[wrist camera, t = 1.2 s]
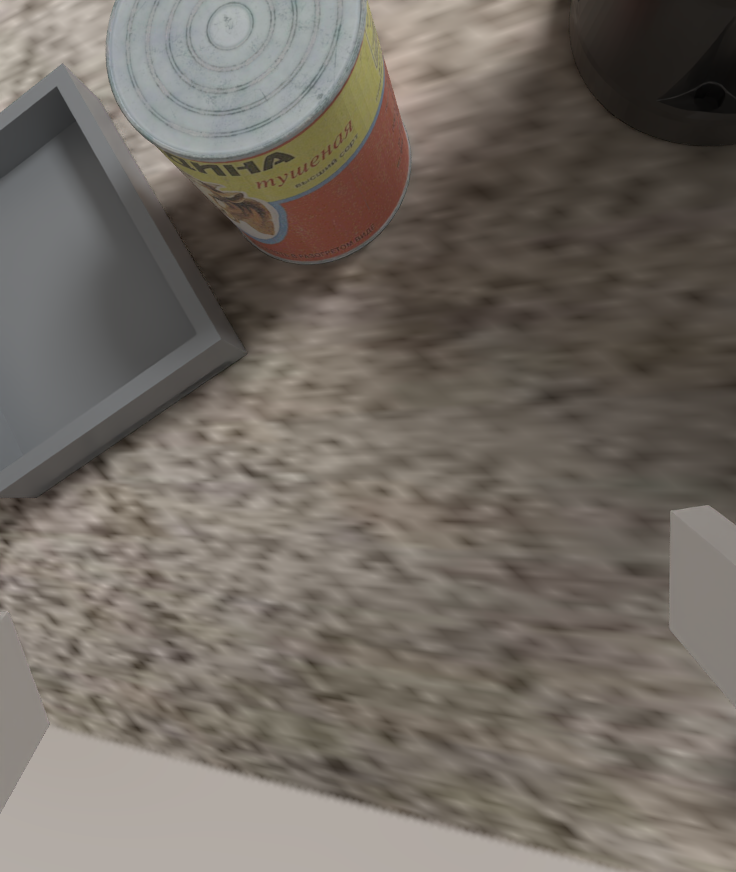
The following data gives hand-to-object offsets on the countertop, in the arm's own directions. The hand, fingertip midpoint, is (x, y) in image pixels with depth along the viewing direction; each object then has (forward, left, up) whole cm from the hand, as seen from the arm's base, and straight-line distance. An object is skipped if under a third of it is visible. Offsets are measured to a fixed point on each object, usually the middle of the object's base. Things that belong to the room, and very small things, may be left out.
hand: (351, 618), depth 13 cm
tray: (+12, -25, -22) cm, 35 cm away
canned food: (-5, -22, -22) cm, 32 cm away
